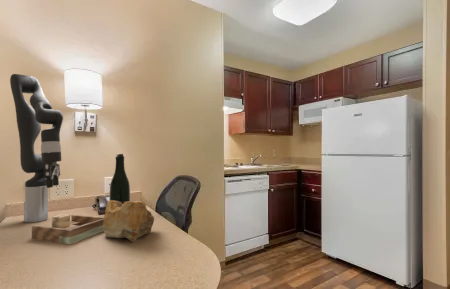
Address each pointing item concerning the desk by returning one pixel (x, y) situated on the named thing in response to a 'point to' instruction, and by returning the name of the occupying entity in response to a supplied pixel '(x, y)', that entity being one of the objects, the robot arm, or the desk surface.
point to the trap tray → (70, 230)
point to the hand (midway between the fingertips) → (52, 186)
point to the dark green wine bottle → (120, 182)
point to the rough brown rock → (127, 220)
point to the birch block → (61, 221)
